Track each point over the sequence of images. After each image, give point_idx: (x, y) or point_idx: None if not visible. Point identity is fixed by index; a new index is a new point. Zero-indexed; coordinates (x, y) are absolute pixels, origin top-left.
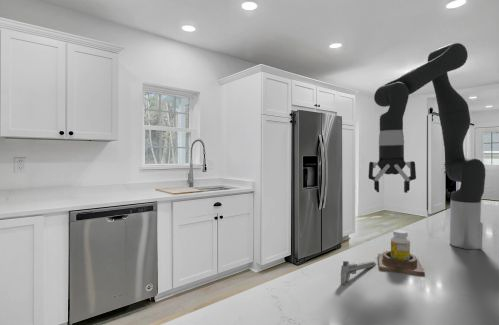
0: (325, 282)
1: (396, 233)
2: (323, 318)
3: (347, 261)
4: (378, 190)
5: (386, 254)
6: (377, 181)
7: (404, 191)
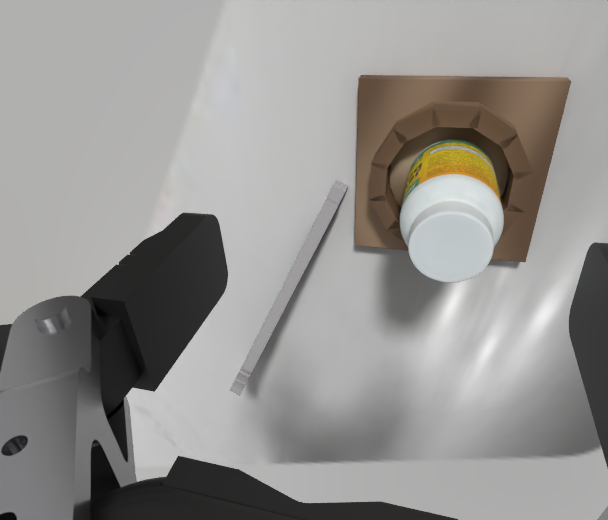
0: (212, 348)
1: (420, 269)
2: (246, 460)
3: (241, 382)
4: (213, 299)
5: (389, 163)
6: (131, 380)
7: (582, 285)
